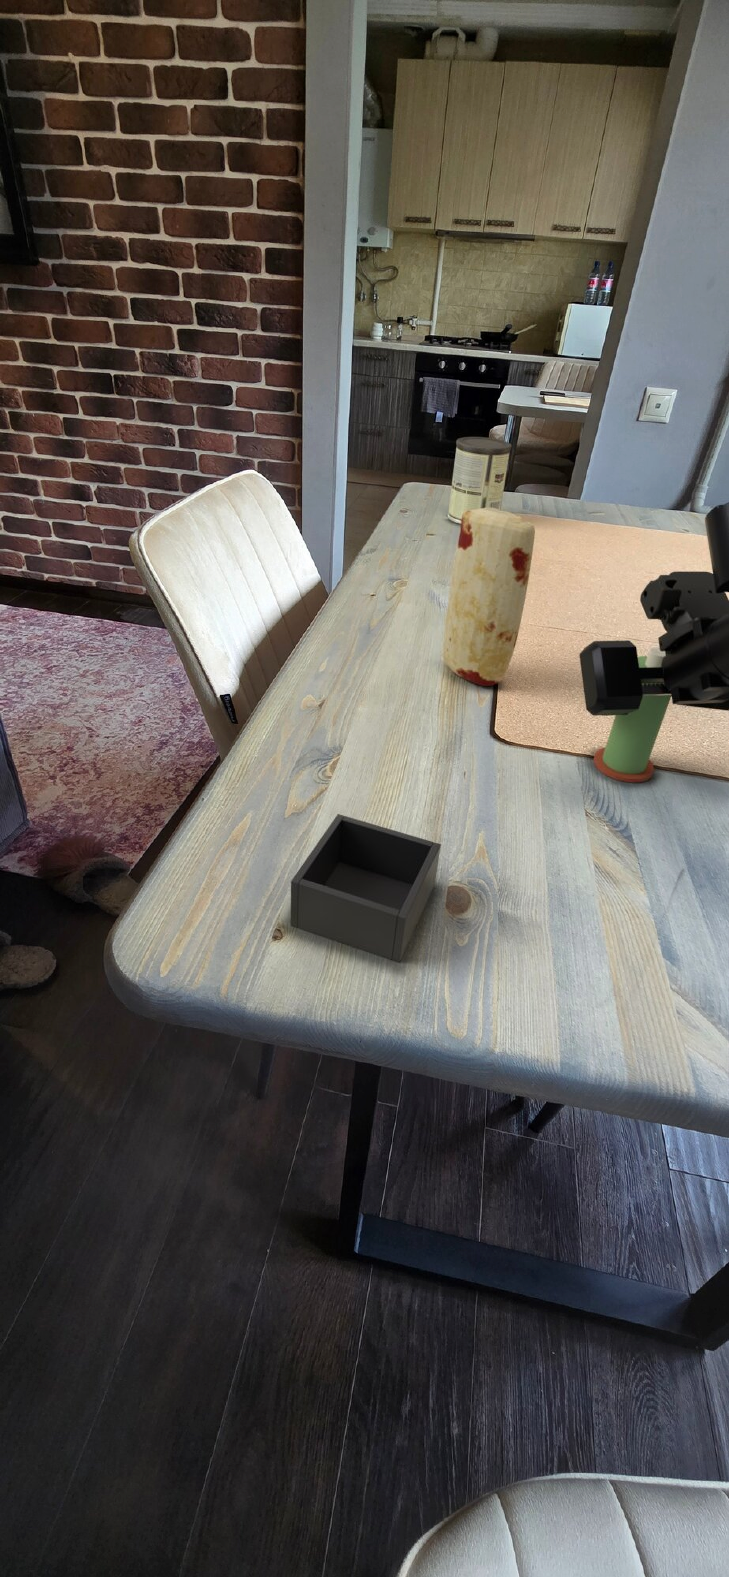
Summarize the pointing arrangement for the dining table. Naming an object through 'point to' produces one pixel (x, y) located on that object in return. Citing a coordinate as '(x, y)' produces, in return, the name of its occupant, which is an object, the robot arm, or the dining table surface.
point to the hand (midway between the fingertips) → (635, 701)
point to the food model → (487, 594)
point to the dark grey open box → (365, 886)
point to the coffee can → (478, 475)
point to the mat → (618, 775)
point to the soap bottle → (637, 727)
